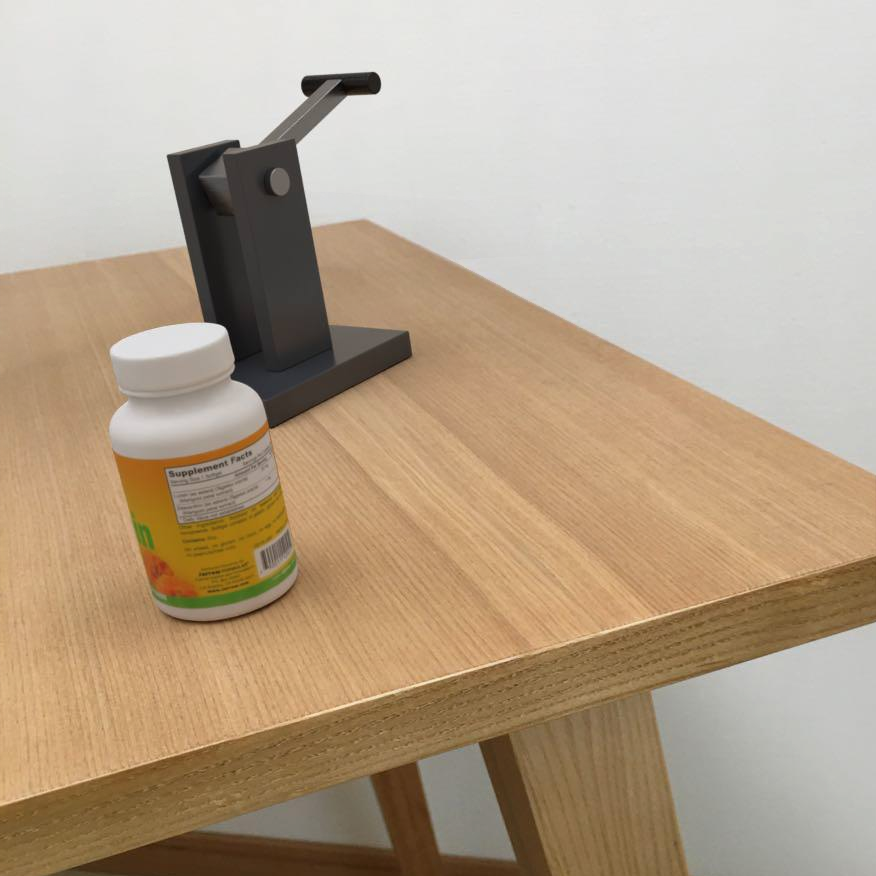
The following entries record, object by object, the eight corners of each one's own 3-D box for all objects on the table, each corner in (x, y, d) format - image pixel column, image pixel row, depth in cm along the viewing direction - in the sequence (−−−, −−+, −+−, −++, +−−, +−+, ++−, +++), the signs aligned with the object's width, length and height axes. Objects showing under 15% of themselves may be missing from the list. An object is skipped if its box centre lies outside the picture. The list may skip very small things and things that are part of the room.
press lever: (321, 100, 72) (304, 61, 70) (388, 97, 69) (372, 57, 68) (199, 216, 65) (177, 176, 64) (267, 217, 63) (247, 176, 61)
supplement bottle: (149, 578, 48) (83, 335, 43) (286, 544, 49) (235, 307, 45) (162, 639, 43) (89, 375, 39) (313, 600, 44) (259, 342, 40)
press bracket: (284, 343, 76) (241, 128, 70) (413, 355, 71) (378, 124, 65) (136, 409, 67) (74, 169, 61) (271, 428, 62) (217, 168, 56)
